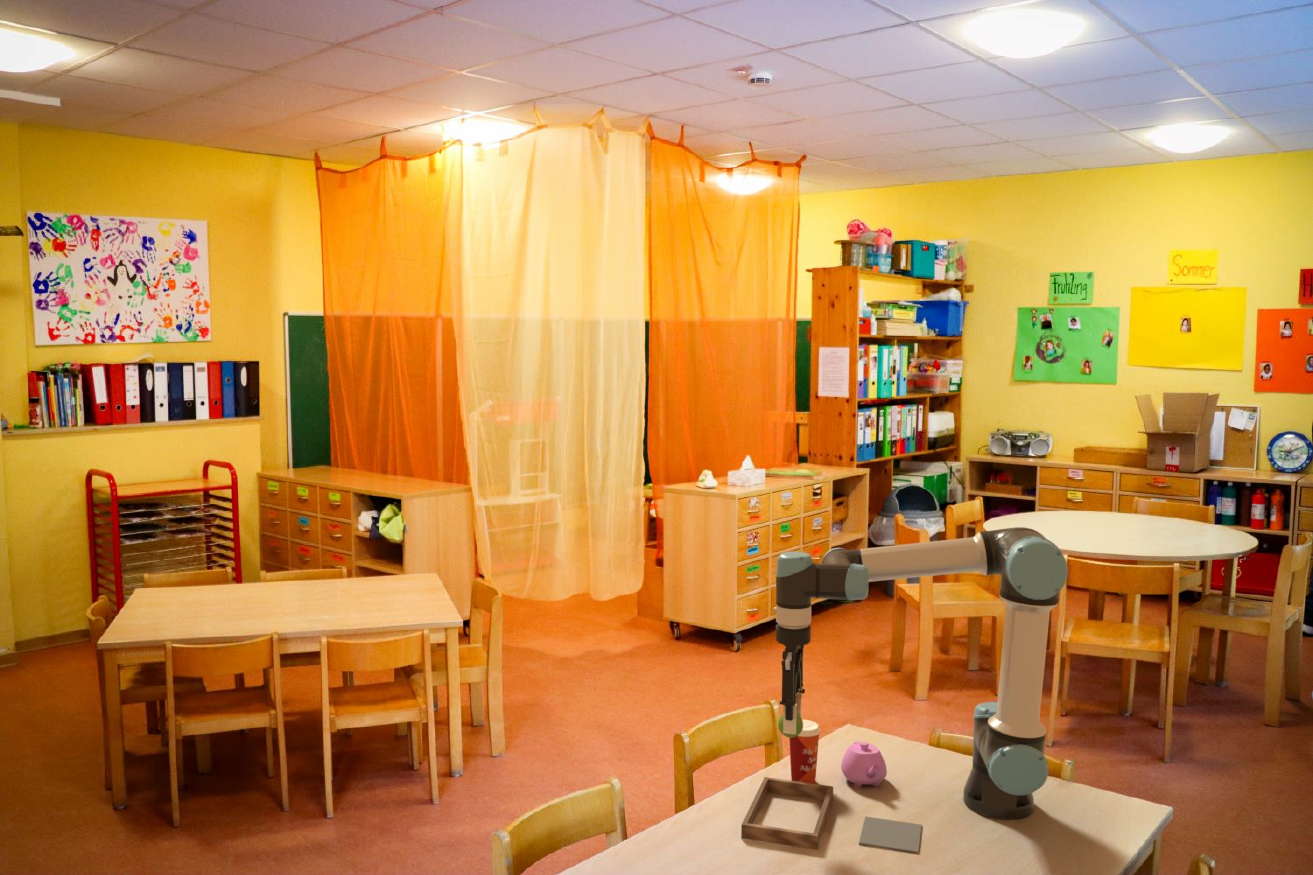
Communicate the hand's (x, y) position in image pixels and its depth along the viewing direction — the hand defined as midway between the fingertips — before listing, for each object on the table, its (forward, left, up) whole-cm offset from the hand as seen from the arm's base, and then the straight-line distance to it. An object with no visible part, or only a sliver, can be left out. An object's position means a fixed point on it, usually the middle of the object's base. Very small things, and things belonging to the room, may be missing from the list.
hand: (792, 727), depth 218 cm
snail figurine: (0, 0, -2) cm, 2 cm away
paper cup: (0, -19, -21) cm, 28 cm away
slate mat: (-22, +1, -21) cm, 30 cm away
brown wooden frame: (0, 0, -21) cm, 21 cm away
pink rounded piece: (-14, -23, -21) cm, 34 cm away
